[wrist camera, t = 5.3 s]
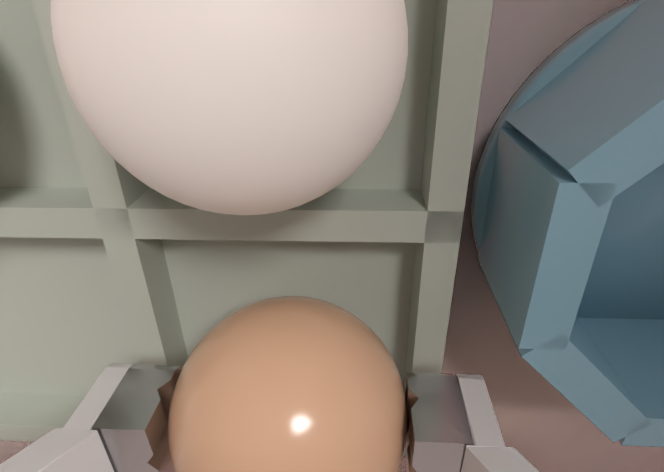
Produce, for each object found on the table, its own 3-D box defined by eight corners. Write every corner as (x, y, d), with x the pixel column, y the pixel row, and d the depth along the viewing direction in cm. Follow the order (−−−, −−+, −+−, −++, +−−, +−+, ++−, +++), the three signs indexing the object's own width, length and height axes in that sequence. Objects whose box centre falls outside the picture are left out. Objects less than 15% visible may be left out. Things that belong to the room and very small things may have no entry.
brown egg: (404, 255, 10) (434, 445, 5) (394, 403, 12) (410, 615, 8) (196, 252, 10) (81, 430, 6) (225, 396, 12) (155, 598, 8)
